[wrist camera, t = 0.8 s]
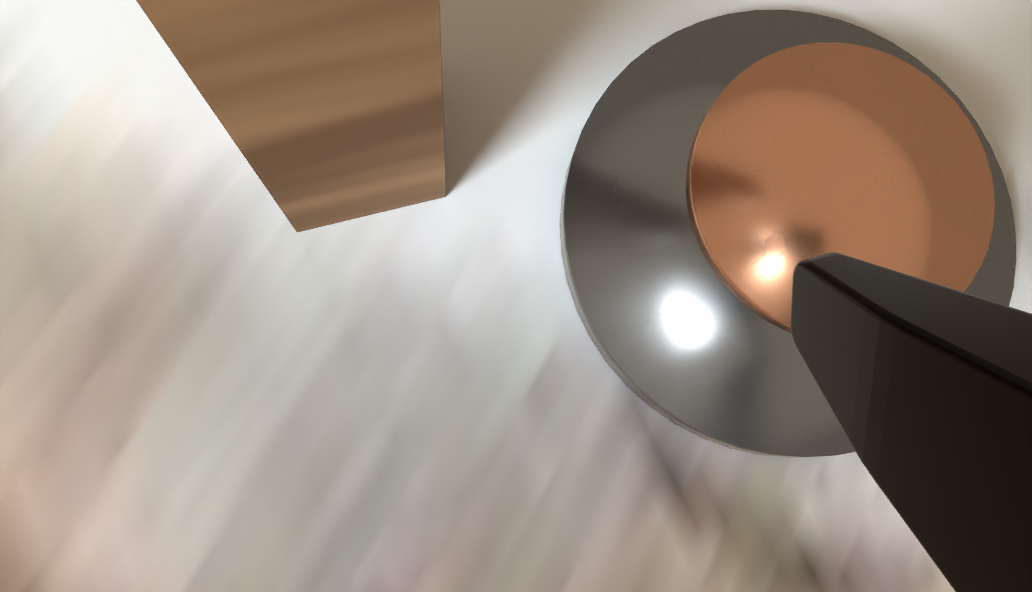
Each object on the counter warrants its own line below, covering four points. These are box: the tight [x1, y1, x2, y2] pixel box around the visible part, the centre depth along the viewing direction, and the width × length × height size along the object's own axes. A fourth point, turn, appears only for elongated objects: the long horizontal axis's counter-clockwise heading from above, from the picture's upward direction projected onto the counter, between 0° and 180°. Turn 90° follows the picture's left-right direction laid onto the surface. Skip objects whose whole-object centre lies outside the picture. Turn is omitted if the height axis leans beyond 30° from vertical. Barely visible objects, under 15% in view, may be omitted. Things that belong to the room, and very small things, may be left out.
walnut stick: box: [136, 0, 446, 232], centre depth 17 cm, size 4×4×13 cm
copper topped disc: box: [560, 10, 1016, 457], centre depth 21 cm, size 12×12×4 cm
